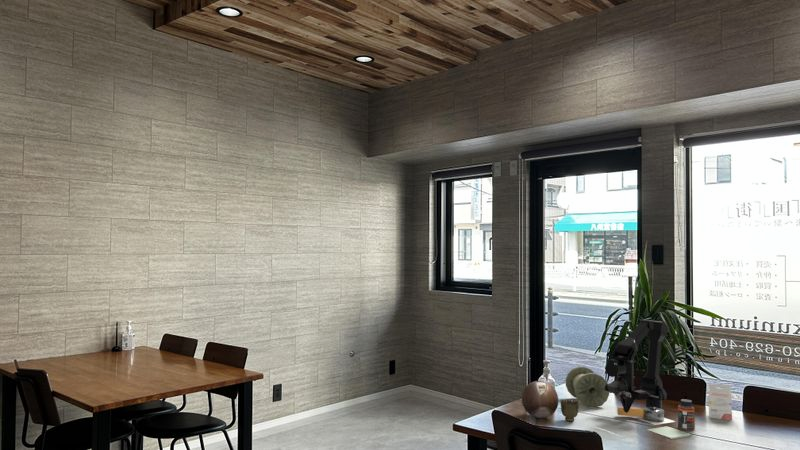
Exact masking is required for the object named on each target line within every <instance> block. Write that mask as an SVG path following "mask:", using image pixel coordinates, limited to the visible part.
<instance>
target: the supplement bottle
mask: <svg viewBox="0 0 800 450" xmlns="http://www.w3.org/2000/svg"><path fill="white" fill-rule="evenodd" d="M695 412H696V411H695V406H693V401H692V400H691V399H685V398H683V399H680V404H678V406H677V428H679V429H680V430H683V431H695V427H696V426H695V425H696V421H695V420H696V417H695Z"/></svg>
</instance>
